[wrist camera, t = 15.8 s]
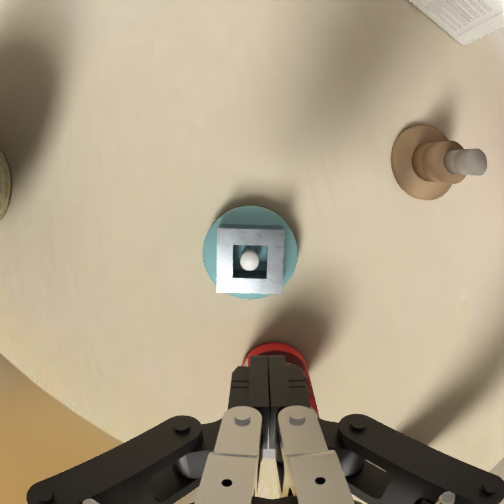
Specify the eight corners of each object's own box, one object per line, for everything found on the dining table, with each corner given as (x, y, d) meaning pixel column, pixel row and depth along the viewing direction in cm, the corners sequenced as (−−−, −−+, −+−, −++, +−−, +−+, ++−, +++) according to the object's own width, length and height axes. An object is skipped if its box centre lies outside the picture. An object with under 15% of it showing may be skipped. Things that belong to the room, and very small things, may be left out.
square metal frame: (282, 225, 30) (284, 230, 27) (279, 284, 31) (281, 294, 29) (220, 223, 30) (216, 228, 28) (220, 283, 31) (217, 292, 29)
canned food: (256, 401, 37) (255, 467, 26) (229, 352, 35) (220, 416, 25) (314, 382, 36) (331, 446, 26) (293, 329, 35) (306, 390, 24)
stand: (462, 168, 30) (519, 171, 20) (420, 214, 31) (473, 230, 22) (422, 112, 29) (475, 96, 19) (376, 157, 30) (423, 152, 20)
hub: (313, 250, 32) (321, 262, 28) (249, 308, 34) (249, 327, 30) (251, 186, 31) (250, 187, 27) (188, 249, 33) (177, 260, 28)
